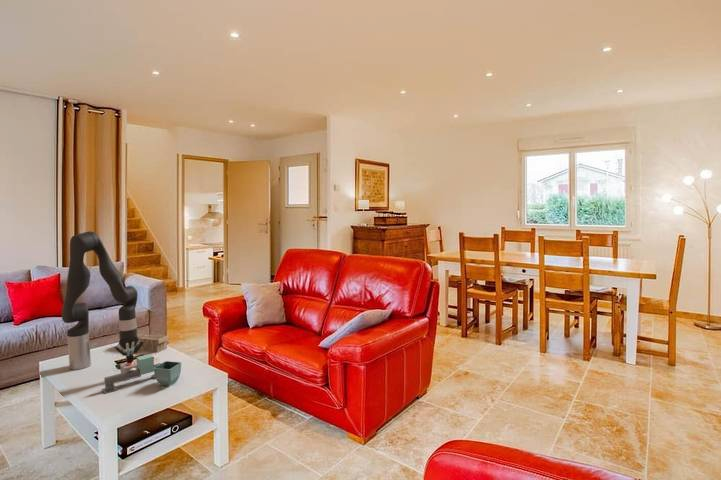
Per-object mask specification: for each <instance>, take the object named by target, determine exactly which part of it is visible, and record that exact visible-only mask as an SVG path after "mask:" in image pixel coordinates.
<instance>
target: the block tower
mask: <svg viewBox="0 0 721 480" xmlns="http://www.w3.org/2000/svg"><path fill="white" fill-rule="evenodd" d="M137 337H138V339H139V340H140V341H143V342H144V343H143V345H142V346H141V348H140V349H139V351H138V352H146V353H147V352H148V353H160V352H162V351H164V350H166V349H167V348H168V343H167V342H168V340H169V335H161V334H160V335H158V334H148V335H146V334H145V333H137ZM118 339H119V340H120V336H119V338H118ZM137 343H138V342H137ZM136 346H137V344H136V345H135V347H136ZM120 347H121V349H120V350H125V349H124V348H123V347H122V346H120ZM135 347H134V349H135Z"/></svg>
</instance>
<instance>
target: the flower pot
mask: <svg viewBox="0 0 721 480" xmlns="http://www.w3.org/2000/svg"><path fill="white" fill-rule="evenodd" d="M160 363H161V364H160V365H158V366H156V367H155V368H154V373H155V377H156V379H155V380H156V381H157V383H158V384H160V386H166V387H167V386H168V387H169V386H172V385H174V384H175V383H176V382H177V381H178V380H179V378H180V375H181V370H182V362H181V361H169V360H165V361H163V362H160Z"/></svg>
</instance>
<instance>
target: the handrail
mask: <svg viewBox="0 0 721 480" xmlns="http://www.w3.org/2000/svg"><path fill="white" fill-rule="evenodd" d="M161 363H162V362H159V363H156V364H155V363H154V368H155V367H156V366H158V365H160V364H161ZM152 372H154V371H152ZM152 372H148V373H145V374H140V370H139V369H136V370H132V371H128V372H124V373H121V372H120V373H116V374H114V375H110V376H106V377H104V378H103V379H104V388H102V389H101V391H102V392H103V393H104V395H106V394H109V393H112V392H116V391H118V387H116V386H115V384H114V383H116V382H117V383H118V382H120V381H123V380H124V379H128V378H132V377H135V376H139V375H141V376H143V375H146V374H150V373H152ZM151 378H153V379H154V380H156V377H155V373H154V374H151ZM124 381H125V380H124Z"/></svg>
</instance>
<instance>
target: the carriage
mask: <svg viewBox="0 0 721 480" xmlns="http://www.w3.org/2000/svg"><path fill="white" fill-rule="evenodd" d="M154 360H155V358H154V356H153V355H152V354H151V353H149V354H145V355H144V354H143V355H141V356H140V355H139V356H136V361H137V369H139V370H140V374H143V375H146V374H149V373H148V372H150V373H152V371H154V365H155V362H154ZM145 373H146V374H145Z"/></svg>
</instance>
